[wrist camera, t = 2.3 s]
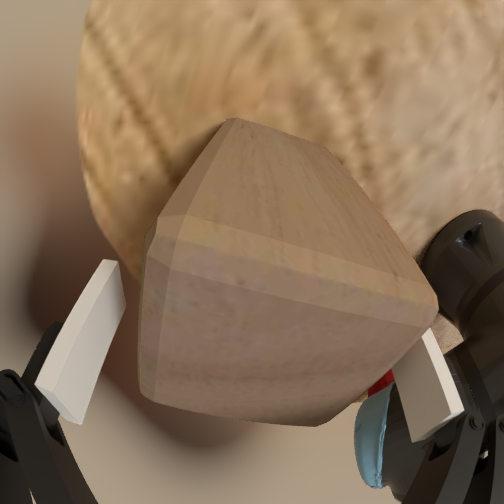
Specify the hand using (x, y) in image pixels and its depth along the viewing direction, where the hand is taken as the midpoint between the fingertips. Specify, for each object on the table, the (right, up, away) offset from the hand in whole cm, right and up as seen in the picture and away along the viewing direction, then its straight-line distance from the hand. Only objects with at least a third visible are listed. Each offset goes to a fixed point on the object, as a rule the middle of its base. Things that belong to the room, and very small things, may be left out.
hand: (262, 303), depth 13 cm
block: (+1, +9, +14) cm, 16 cm away
